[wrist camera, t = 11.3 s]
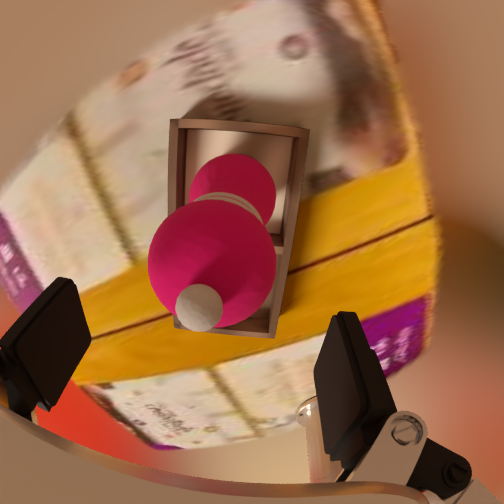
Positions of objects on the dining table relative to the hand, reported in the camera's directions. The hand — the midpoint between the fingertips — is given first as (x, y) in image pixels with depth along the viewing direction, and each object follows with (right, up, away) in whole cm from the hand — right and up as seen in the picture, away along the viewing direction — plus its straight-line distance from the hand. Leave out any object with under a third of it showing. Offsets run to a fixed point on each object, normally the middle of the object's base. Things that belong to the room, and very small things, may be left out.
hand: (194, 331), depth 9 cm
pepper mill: (0, +9, +18) cm, 20 cm away
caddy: (0, +5, +21) cm, 22 cm away
